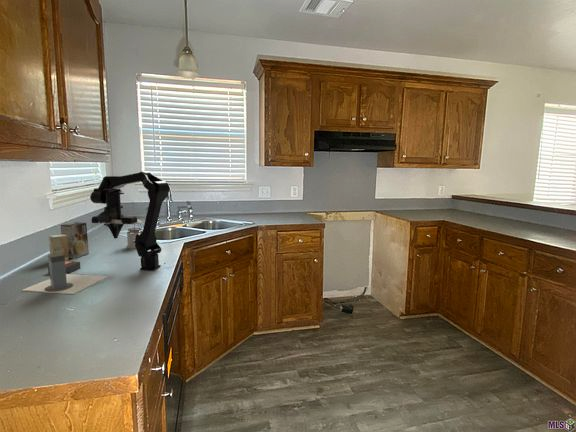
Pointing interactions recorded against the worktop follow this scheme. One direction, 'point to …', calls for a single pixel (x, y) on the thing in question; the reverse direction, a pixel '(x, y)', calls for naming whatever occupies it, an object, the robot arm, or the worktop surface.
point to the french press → (133, 233)
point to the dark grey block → (57, 271)
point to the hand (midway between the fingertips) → (115, 238)
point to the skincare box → (59, 245)
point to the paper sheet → (73, 284)
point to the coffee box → (76, 238)
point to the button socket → (70, 267)
